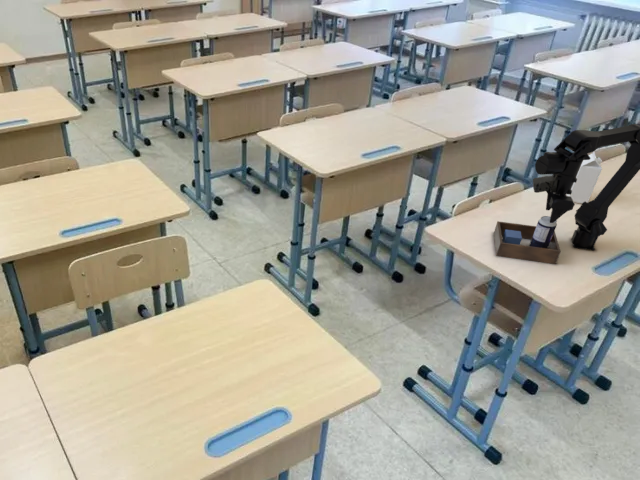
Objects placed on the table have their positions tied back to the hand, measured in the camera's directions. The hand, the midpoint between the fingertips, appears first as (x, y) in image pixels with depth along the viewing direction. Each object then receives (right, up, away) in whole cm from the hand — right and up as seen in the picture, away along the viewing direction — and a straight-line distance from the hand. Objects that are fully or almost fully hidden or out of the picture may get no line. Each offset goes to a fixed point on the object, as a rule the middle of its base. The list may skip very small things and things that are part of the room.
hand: (549, 216), depth 183 cm
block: (-8, -9, +10) cm, 16 cm away
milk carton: (+32, +12, +37) cm, 51 cm away
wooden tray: (-4, -10, +9) cm, 14 cm away
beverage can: (0, -11, +8) cm, 13 cm away
